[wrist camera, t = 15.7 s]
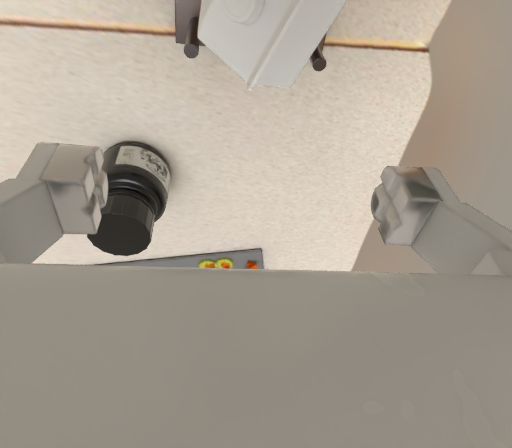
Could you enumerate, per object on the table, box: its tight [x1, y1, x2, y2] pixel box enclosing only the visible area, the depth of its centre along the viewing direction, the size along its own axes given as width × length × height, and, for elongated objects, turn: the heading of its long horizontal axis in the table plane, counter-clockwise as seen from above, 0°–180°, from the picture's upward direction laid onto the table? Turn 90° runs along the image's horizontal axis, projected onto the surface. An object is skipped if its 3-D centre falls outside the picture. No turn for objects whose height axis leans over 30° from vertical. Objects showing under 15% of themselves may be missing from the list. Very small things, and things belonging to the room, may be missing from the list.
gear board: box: [103, 249, 263, 269], centre depth 69 cm, size 45×2×19 cm
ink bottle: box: [87, 142, 170, 256], centre depth 46 cm, size 10×9×12 cm
